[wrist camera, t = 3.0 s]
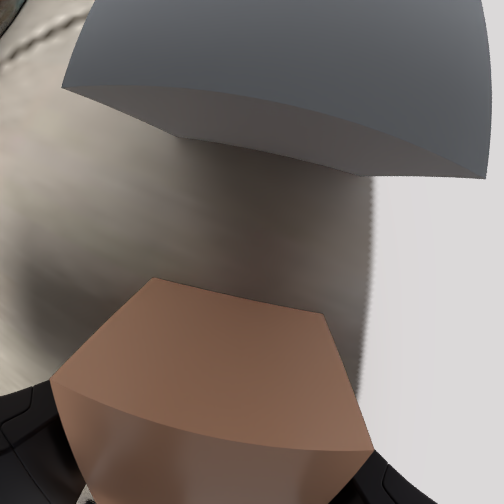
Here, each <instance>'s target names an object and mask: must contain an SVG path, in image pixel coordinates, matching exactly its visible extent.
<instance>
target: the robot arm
mask: <svg viewBox="0 0 504 504" xmlns="http://www.w3.org/2000/svg"><path fill="white" fill-rule="evenodd" d="M387 464H388V462H387V461H386V460H385V459H384V458H383V457H382V456H381V455H380V454H379V453H378V452H376V450H375V449H374V451H373V453H372V454H371V455H370V457H369V458H368V459H367V460H366V462H365V463H364V464H363V465H362V467H361V468H360V469H359V470H358V471H357V473H356V474H355V475H354V476H353V477H352V478H351V479H350V481H349V482H348V483H347V484H346V485H345V486H344V487H343V488H342V490H341V491H340V492H339V493H338V494H337V495H336V496H335V497H334V498H333V499H332V500H331V501H330V502H329V503H328V504H437V503H436V502H435V501H433V500H432V499H430V498H429V497H428V496H426V495H425V494H424V493H422V492H421V491H419V490H418V489H417V488H416V487H414V486H413V485H412V484H411V483H409V482H408V481H407V480H406V479H405V478H404V477H403V476H402V475H400V474H399V473H398V472H397V471H396V470H395V469H394V468H393V467H392V466H391V465H390V464H388V465H387ZM85 485H86V482H85V480H84V478H83V476H82V473H81V471H80V469H79V467H78V464H77V462H76V460H75V457H74V455H73V452H72V450H71V447H70V445H69V442H68V439H67V436H66V434H65V431H64V428H63V425H62V422H61V419H60V416H59V412H58V409H57V406H56V402H55V399H54V395H53V391H52V388H51V384H50V380H47V381H45V382H42V383H39V384H37V385H34V386H33V387H32V386H31V387H28V388H25V389H23V390H20V391H17V392H14V393H11V394H7V395H4V396H0V504H76V502H77V500H78V498H79V496H80V494H81V493H82V491H83V489H84V487H85ZM85 504H94V503H92V502H89V501H86V503H85Z"/></svg>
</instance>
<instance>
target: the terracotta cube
mask: <svg viewBox="0 0 504 504" xmlns="http://www.w3.org/2000/svg"><path fill="white" fill-rule="evenodd" d="M50 384H51V388H52V391H53V395H54V399H55V402H56V406H57V409H58V412H59V416H60V419H61V422H62V425H63V428H64V431H65V434H66V436H67V439H68V442H69V445H70V447H71V450H72V452H73V455H74V457H75V460H76V462H77V464H78V467H79V469H80V471H81V473H82V476H83V478H84V480H85V482H86V484H87V486H88V488H89V490H90V492H91V494H92V496H93V498H94V500H95V502H96V504H328V503H329V502H330V501H331V500H332V499H333V498H334V497H335V496H336V495H337V494H338V493H339V492H340V491H341V490H342V488H343V487H344V486H345V485H346V484H347V483H348V482H349V481H350V479H351V478H352V477H353V476H354V475H355V474H356V473H357V471H358V470H359V469H360V468H361V467H362V465H363V464H364V463H365V462H366V460H367V459H368V458H369V457H370V455H371V454H372V453H373V451H374V447H373V444H372V441H371V439H370V436H369V433H368V430H367V427H366V424H365V421H364V419H363V416H362V413H361V411H360V408H359V405H358V402H357V400H356V397H355V394H354V392H353V389H352V386H351V384H350V381H349V378H348V376H347V373H346V370H345V368H344V365H343V363H342V360H341V358H340V355H339V353H338V350H337V347H336V345H335V342H334V340H333V337H332V335H331V333H330V330H329V328H328V325H327V323H326V320H325V318H324V315H323V314H320V313H315V312H309V311H304V310H299V309H294V308H288V307H283V306H278V305H273V304H268V303H263V302H259V301H254V300H249V299H244V298H240V297H235V296H231V295H226V294H222V293H217V292H213V291H208V290H204V289H200V288H195V287H191V286H187V285H183V284H179V283H175V282H171V281H167V280H162V279H159V278H155V277H153V278H152V279H151V280H150V281H148V282H147V283H146V284H145V285H144V286H143V287H142V288H141V289H140V290H139V291H138V292H137V293H136V294H134V295H133V296H132V297H131V298H130V299H129V300H128V301H127V302H126V303H125V304H124V305H123V306H122V307H121V308H120V309H119V310H118V311H117V312H116V313H114V314H113V315H112V316H111V317H110V318H109V319H108V320H107V321H106V322H105V323H104V324H103V325H102V326H101V327H100V328H99V329H98V330H97V331H96V332H95V333H94V334H93V335H92V336H91V337H90V338H89V339H88V340H87V341H86V342H85V343H84V344H83V345H82V346H81V347H80V348H79V349H78V350H77V351H76V352H75V353H74V354H73V355H72V356H71V357H70V358H69V359H68V360H67V361H66V362H65V363H64V364H63V365H62V366H61V367H60V368H59V369H58V370H57V372H56V373H55V374H54V375H53V376H52V377H51V378H50Z"/></svg>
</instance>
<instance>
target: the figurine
mask: <svg viewBox="0 0 504 504" xmlns="http://www.w3.org/2000/svg"><path fill="white" fill-rule="evenodd" d="M24 1H25V0H0V36H1V35H2V33H3V32H4V31H5V30H6V28H7V27H8V26H9V25H10V23H11V22H12V20H13V18H14V17H15V16H16V14H17V13H18V11H19V9H20V8H21V6H22V4H23V3H24Z"/></svg>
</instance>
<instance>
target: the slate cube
mask: <svg viewBox="0 0 504 504" xmlns="http://www.w3.org/2000/svg"><path fill="white" fill-rule="evenodd" d="M489 54H490V53H489V44H488V36H487V30H486V23H485V17H484V12H483V7H482V2H481V0H95V2H94V4H93V6H92V8H91V10H90V12H89V14H88V16H87V19H86V21H85V23H84V25H83V28H82V30H81V33H80V35H79V37H78V40H77V42H76V45H75V48H74V50H73V53H72V56H71V59H70V62H69V64H68V67H67V71H66V74H65V77H64V80H63V83H62V87H61V88H63V89H66V90H69V91H71V92H74V93H77V94H79V95H82V96H84V97H87V98H89V99H92V100H94V101H97V102H99V103H102V104H104V105H107V106H109V107H111V108H114V109H116V110H119V111H121V112H123V113H126V114H128V115H130V116H132V117H135V118H137V119H139V120H141V121H144V122H146V123H148V124H150V125H153V126H155V127H157V128H159V129H161V130H163V131H166V132H168V133H170V134H172V135H174V136H176V137H183V138H190V139H197V140H203V141H210V142H216V143H222V144H227V145H233V146H238V147H243V148H249V149H254V150H259V151H263V152H268V153H273V154H277V155H282V156H286V157H290V158H294V159H299V160H303V161H307V162H311V163H315V164H318V165H322V166H326V167H330V168H333V169H337V170H341V171H344V172H348V173H351V174H354V175H358V176H430V177H433V176H434V177H457V178H475V179H486V173H487V166H488V157H489V147H490V135H491V134H490V133H491V114H492V86H491V65H490V55H489Z"/></svg>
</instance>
